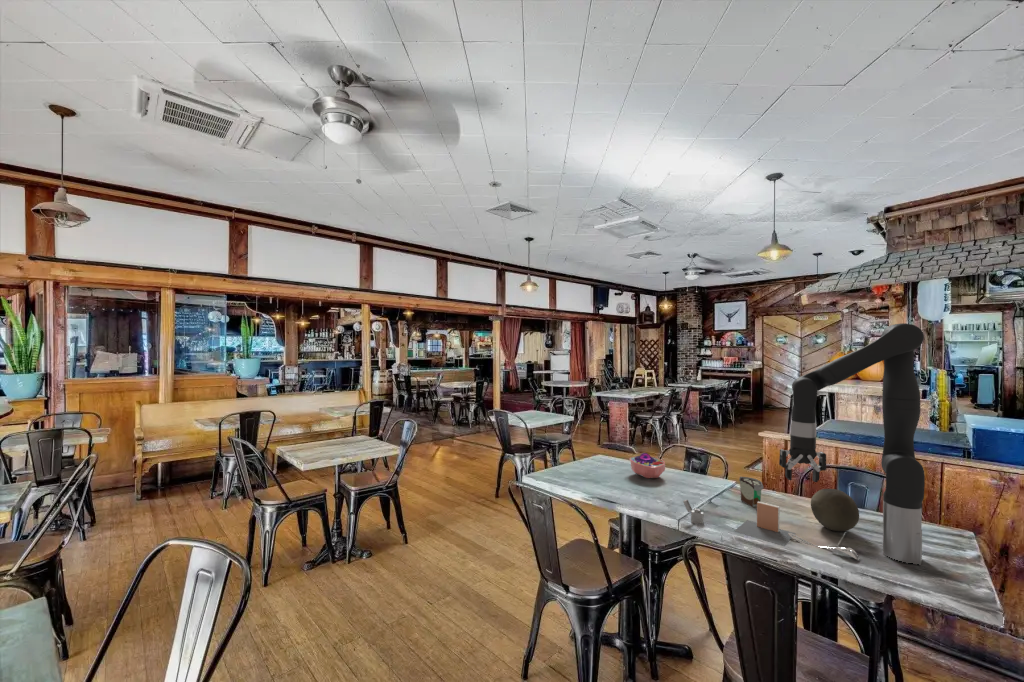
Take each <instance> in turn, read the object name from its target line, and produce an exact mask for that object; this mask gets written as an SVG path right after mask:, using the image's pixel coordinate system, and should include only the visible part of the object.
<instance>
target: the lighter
mask: <svg viewBox="0 0 1024 682" xmlns="http://www.w3.org/2000/svg"><path fill="white" fill-rule="evenodd" d="M682 502H683V505H684V507H685V509H686V511H687V512H688V513H689V512H691V514H690V520H691V521H690V523H691V524H695V525H698V524H701V525H704V522H705V521H704V520H705V519H704V518H705V517H704V515H705V514H704V511H702V510H701V509H699V508H694V509H692V505H691V504H690V501H689V500H688V499H685V500H682Z"/></svg>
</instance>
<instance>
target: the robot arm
mask: <svg viewBox="0 0 1024 682" xmlns="http://www.w3.org/2000/svg"><path fill="white" fill-rule="evenodd" d="M924 339H925V335H924V332H923V330H922V329H921V328H920V327H918V326H917V325H914V324H911V323H895V324H892V325H889V326H887V327H885V328H884V330H883V331H882V333H881V336H880V337H879V338H878V339H876V340H875V341H873V342H870V343H869V344H867V345H866V346H863V347H861V348H859V349H856V350H854V351H852V352H849V353H847V354H844V355H842V356H839V357H837V358H835V359H833V360H831V361H830V362H827V363H826V364H824V365H822V366H821V367H819V368H818V369H817V368H816V369H815V370H813V371H811V372H808V373H806V374H805V373H804V375H801V376H799V377H798V378H796V379H794V380H793V382H792V383H791V389H792V395H793V397H792V398H793V399H792V400H793V401H792V402H793V404H792V408H791V422H790V423H791V424H790V435H789V437H790V441H789V445H790V446H789V447H790V448H789V449H788V450H787V449H783V448H781V449H780V450H779V458H778V459H779V462H778V465H779V466H780V467H782V468H783V469H784V470H785V473H784V475H785V478H786V479H787V480H788V481H792V479H793V470H792V469H793V467H794V466H796V465H797V464H806V465H810V466H811V468H812V469H813V470H812V476H811V477H812V479H811V480H812V482H814V483H818V482H819V481H820V472H821V471H826V470H827V454H826V453H825V452H823V451H819V452H818V451H816V448H817V424H816V418H817V417H816V415H817V412H816V406H817V399H818V392H819V391H821V390H823V389H824V388H827V387H829V386H830V387H831V386H834V385H836V384H839V383H841V382H843V381H845V380H847V379H848V378H851V377H852V376H855V375H857V374H859V373H860V372H863V371H864V370H867V369H868V368H869V367H872V366H874V365H876V364H877V363H881V362H883V365H884V368H883V369H884V370H883V375H882V376H883V378H882V379H883V380H882V395H881V396H882V397H881V398H882V399H881V400H882V402H881V403H882V405H881V407H882V421H883V422H882V423H883V432H884V435H883V436H884V438H883V439H884V441H883V449H882V453H881V454H882V456H881V463H880V464H881V469H882V471H883V472H884V473H885V489H884V492H883V494H882V496H883V497H882V501H883V502H882V553H883V554H885V555H884V556H886V557H887V556H888V557H887V558H889V557H890V558H889V559H891V558H893V559H892V560H894V559H895V560H894V561H896V560H898V561H897V562H899V561H902V562H901V563H903V562H906V563H905V564H908V563H913V564H912V565H917V564H919V565H918V566H922V562H923V561H922V560H923V530H922V526H923V525H922V524H923V523H922V517H923V516H922V515H923V513H922V511H923V510H922V508H923V507H922V506H923V501H924V498H925V485H926V484H925V482H926V481H925V480H926V477H925V476H926V475H925V469H924V467H923V466H922V464H921V463H920V461H918V460H917V459H916V454H915V446H914V445H915V444H914V443H915V442H914V438H915V433H916V431H917V428H918V425H919V421H920V416H921V392H920V391H921V390H920V386H919V383H918V380H917V376H916V372H915V369H914V356H915V350H917V349H919V348H920V346H921V345H922V344H923V343H924ZM788 455H790V458H788V460H787V457H788ZM816 458H818V464H817V462H816V461H815V459H816Z"/></svg>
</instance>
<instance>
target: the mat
mask: <svg viewBox="0 0 1024 682" xmlns="http://www.w3.org/2000/svg"><path fill="white" fill-rule="evenodd" d="M734 532H735V533H740V534H743V535H746V536H749V537H752V538H755V539H758V540H762V541H766V542H770V543H772V544H776V545H779V546H781V547H782V546H783V547H786V545H787V544H789V542H790V541H791V539H792V538H791V537H790V536H789V535H788V533H792V534H795V535H796V533H795V532H792V531H789V530H785V529H782V528H779V532H775V531H771V530H768V529H764V528H761V527H757V521H752V520H749V519H747V520H745V521H744V522H742V524H740V525H739V526H738V527H737V528H736V529H735V530H734ZM792 536H793V535H792ZM793 537H794V536H793Z"/></svg>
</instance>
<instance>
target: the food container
mask: <svg viewBox="0 0 1024 682" xmlns="http://www.w3.org/2000/svg"><path fill="white" fill-rule="evenodd" d="M738 479H739V480H738V482H739V485H740V486H739V489H740V490H739V492H740V501H741V502H743V503H744V504H746V505H748V506H750V507H752V508H757V502H758V501H759V502H761V499H762V498H761V497H762V491H763V490H764V485H763V482H762V481H761V480H759V479H757V478H753V477H748V476H739V478H738Z"/></svg>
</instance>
